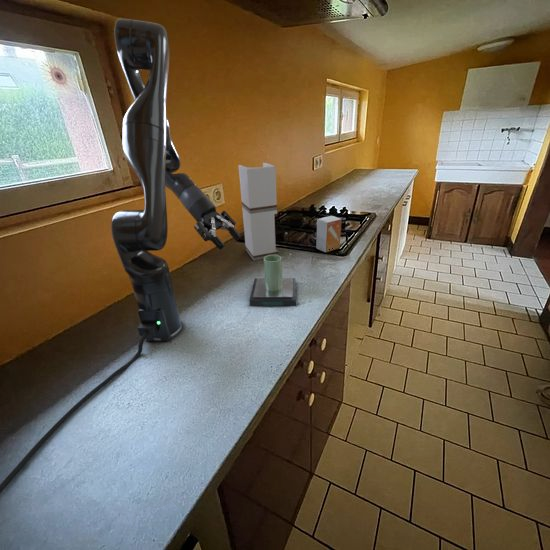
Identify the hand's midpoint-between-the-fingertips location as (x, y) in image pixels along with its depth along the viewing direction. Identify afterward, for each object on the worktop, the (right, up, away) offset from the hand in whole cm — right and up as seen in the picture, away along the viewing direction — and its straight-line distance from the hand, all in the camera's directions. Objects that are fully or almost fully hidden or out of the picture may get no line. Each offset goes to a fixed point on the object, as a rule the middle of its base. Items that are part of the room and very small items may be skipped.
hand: (230, 243), depth 95 cm
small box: (+37, +1, +33) cm, 50 cm away
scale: (+14, -16, +2) cm, 21 cm away
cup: (+14, -14, +1) cm, 19 cm away
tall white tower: (+8, -1, +32) cm, 33 cm away
